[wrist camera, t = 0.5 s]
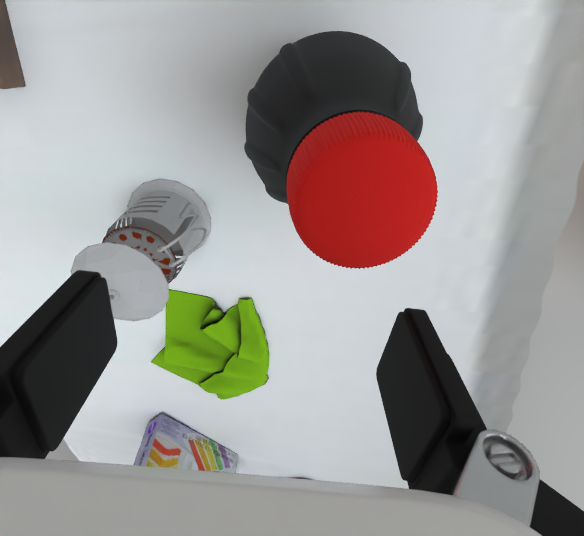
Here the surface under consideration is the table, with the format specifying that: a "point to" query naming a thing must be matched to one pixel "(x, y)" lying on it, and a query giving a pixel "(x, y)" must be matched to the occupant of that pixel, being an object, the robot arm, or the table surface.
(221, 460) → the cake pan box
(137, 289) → the french press
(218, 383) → the cloth
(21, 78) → the block
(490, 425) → the table surface
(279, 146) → the cola bottle
